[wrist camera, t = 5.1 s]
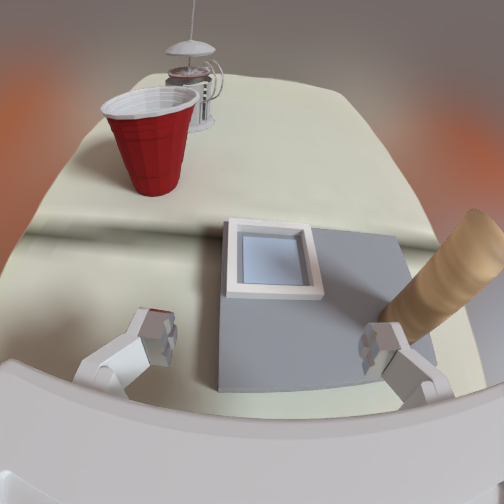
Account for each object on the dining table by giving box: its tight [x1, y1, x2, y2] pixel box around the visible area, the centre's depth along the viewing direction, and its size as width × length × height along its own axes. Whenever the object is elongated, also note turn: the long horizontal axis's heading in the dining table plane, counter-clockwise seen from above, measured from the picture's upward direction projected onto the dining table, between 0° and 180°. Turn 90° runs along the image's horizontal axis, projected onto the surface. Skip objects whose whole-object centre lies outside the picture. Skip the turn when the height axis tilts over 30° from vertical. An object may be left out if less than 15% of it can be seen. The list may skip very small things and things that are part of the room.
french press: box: [165, 0, 224, 133], centre depth 35 cm, size 10×12×25 cm
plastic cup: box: [100, 86, 200, 197], centre depth 29 cm, size 11×11×12 cm
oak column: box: [378, 209, 504, 346], centre depth 18 cm, size 4×4×13 cm
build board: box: [218, 218, 437, 393], centre depth 25 cm, size 20×16×3 cm
